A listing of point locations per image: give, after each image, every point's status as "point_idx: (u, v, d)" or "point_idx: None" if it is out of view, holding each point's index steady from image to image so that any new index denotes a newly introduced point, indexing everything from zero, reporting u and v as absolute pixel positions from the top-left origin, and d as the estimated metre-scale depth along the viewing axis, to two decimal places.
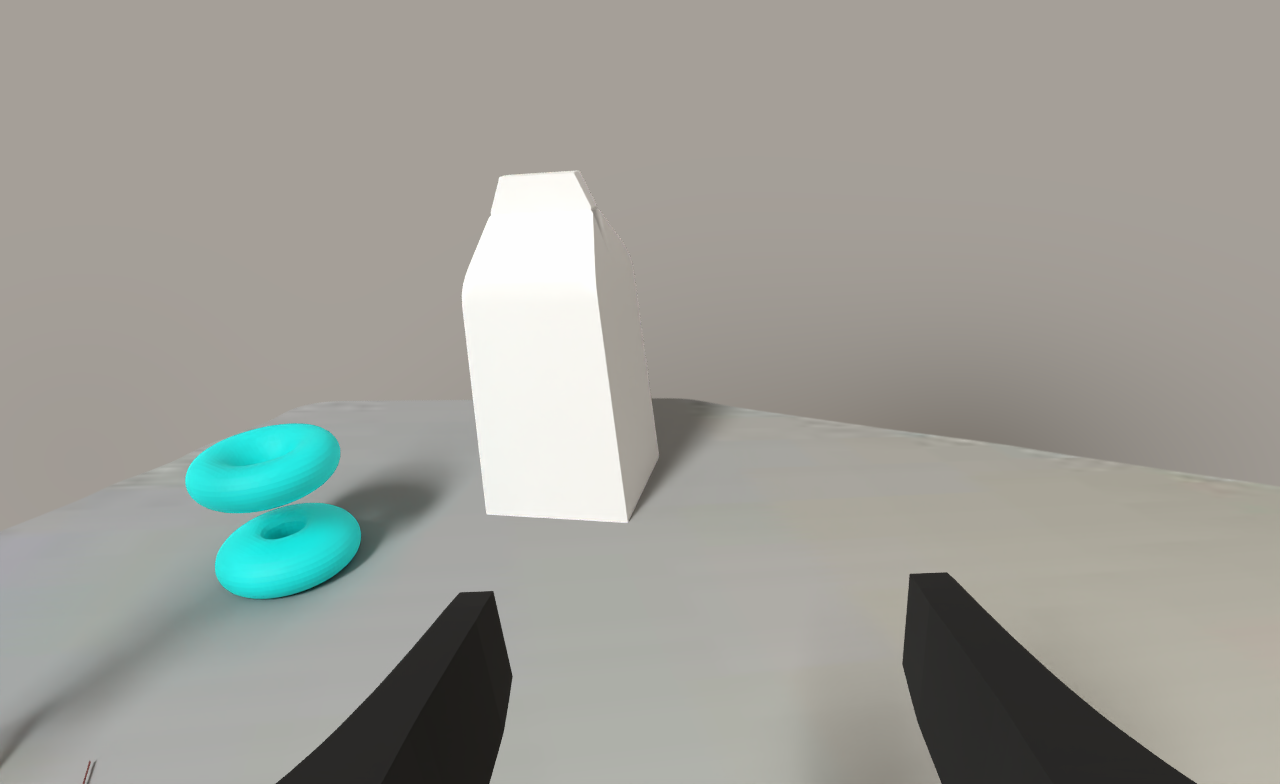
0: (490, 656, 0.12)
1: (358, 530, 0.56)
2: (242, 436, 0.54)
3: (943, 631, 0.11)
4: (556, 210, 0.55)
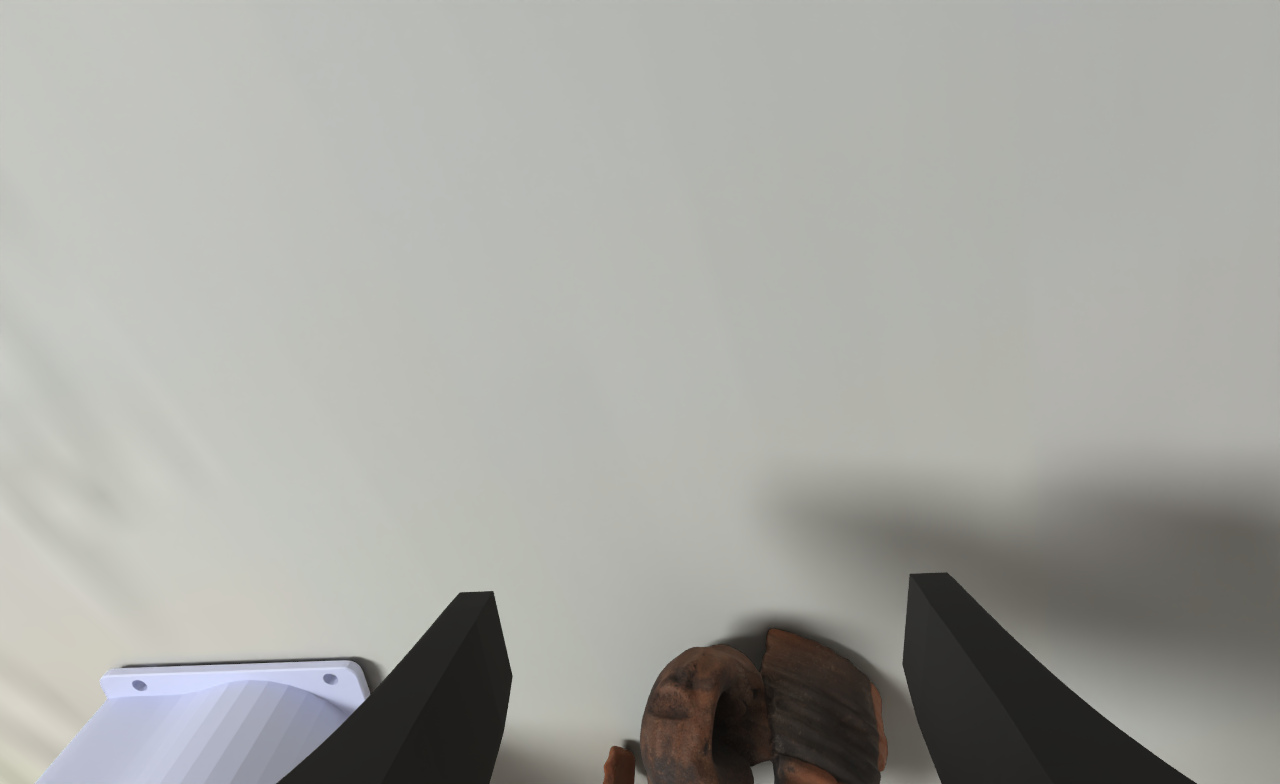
0: (490, 656, 0.12)
1: None
2: None
3: (943, 631, 0.11)
4: None
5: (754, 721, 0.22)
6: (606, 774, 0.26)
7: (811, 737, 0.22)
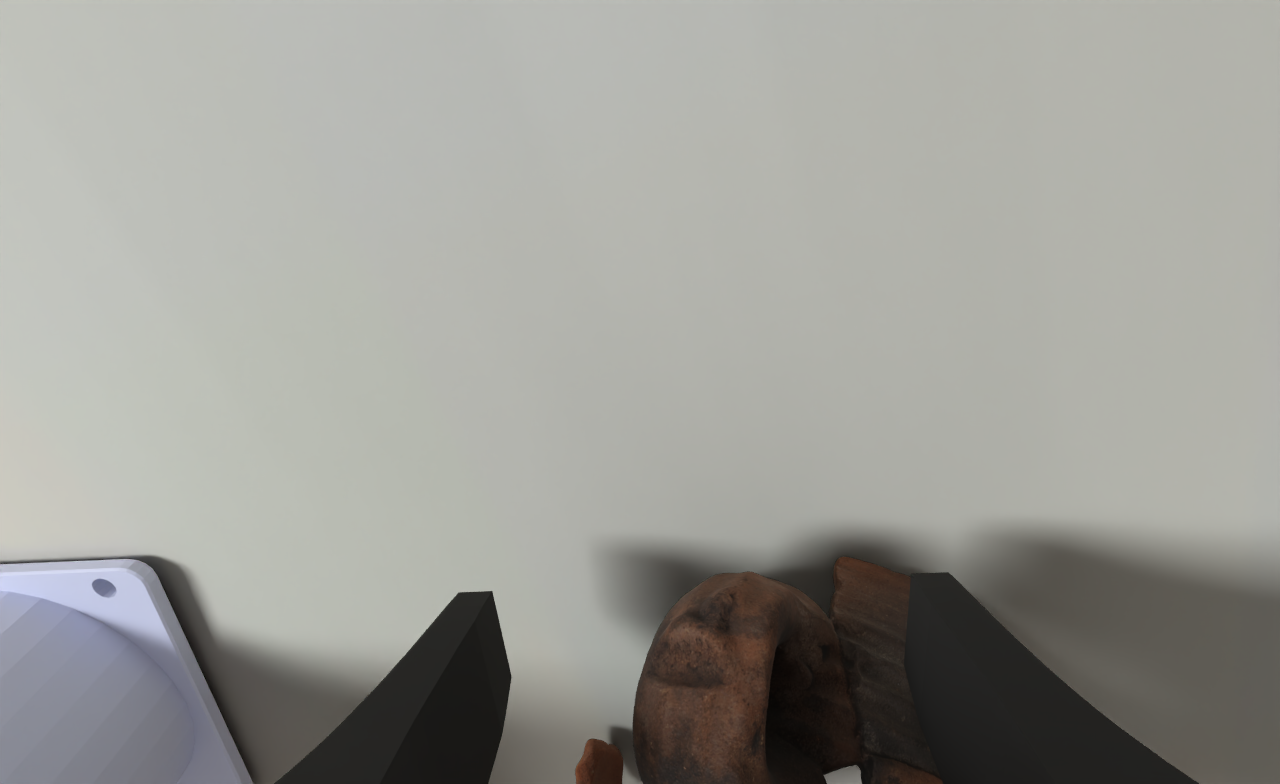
0: (489, 656, 0.12)
1: None
2: None
3: (944, 631, 0.11)
4: None
5: (827, 698, 0.13)
6: (578, 781, 0.17)
7: None
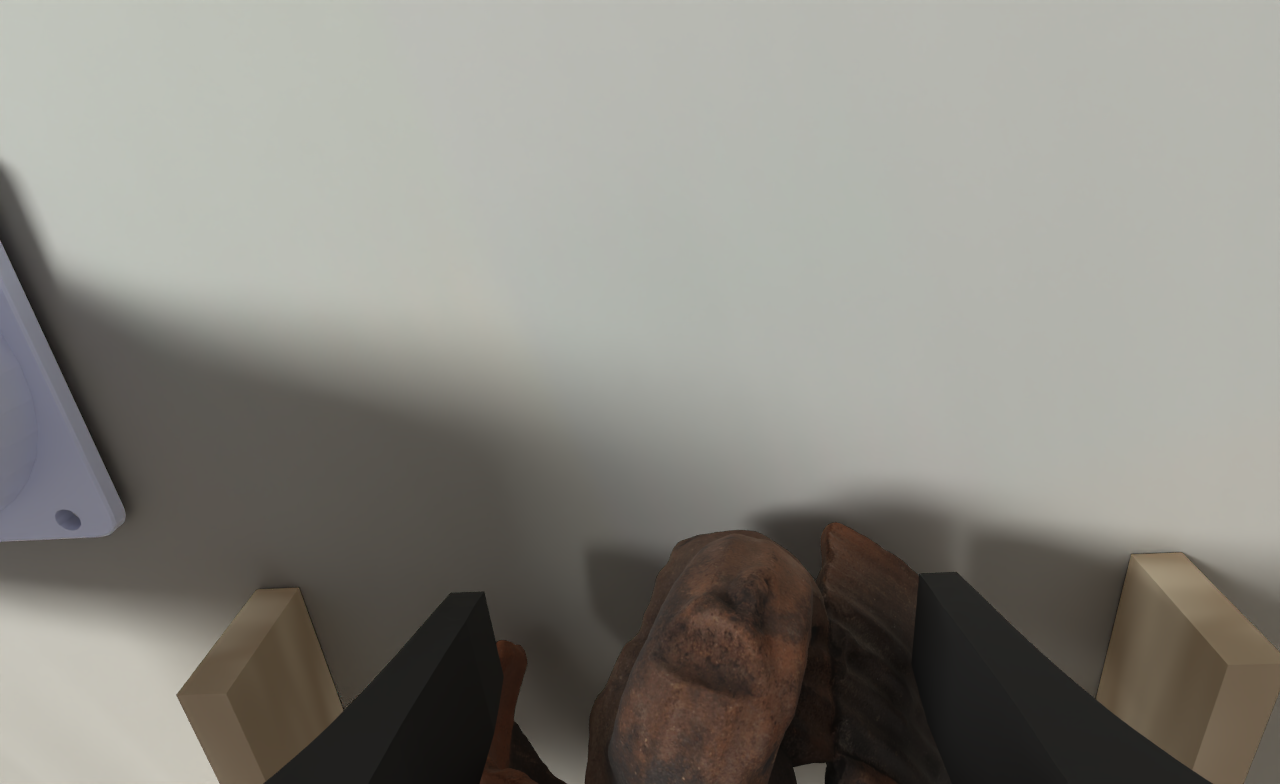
0: (481, 656, 0.12)
1: None
2: None
3: (954, 631, 0.11)
4: None
5: (810, 686, 0.11)
6: None
7: (892, 727, 0.12)
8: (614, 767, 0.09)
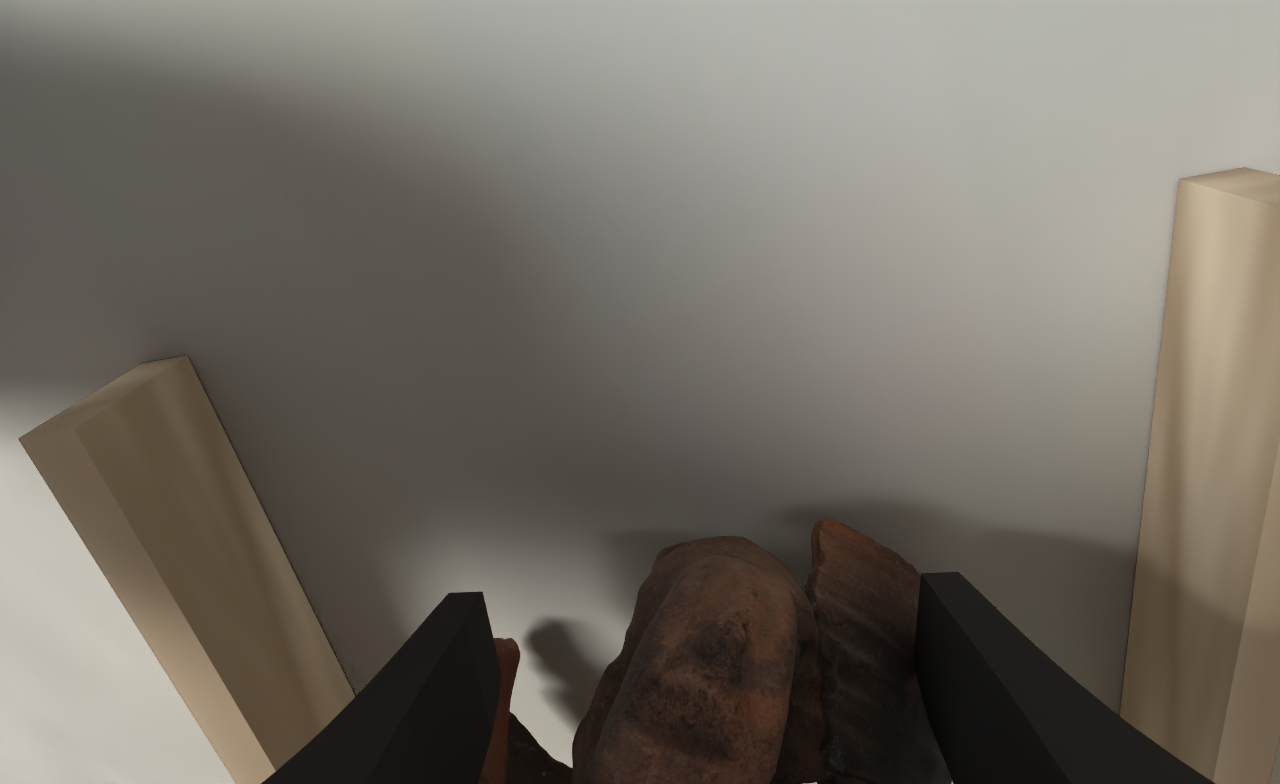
0: (478, 656, 0.12)
1: None
2: None
3: (956, 631, 0.11)
4: None
5: (799, 705, 0.11)
6: None
7: (886, 737, 0.12)
8: None
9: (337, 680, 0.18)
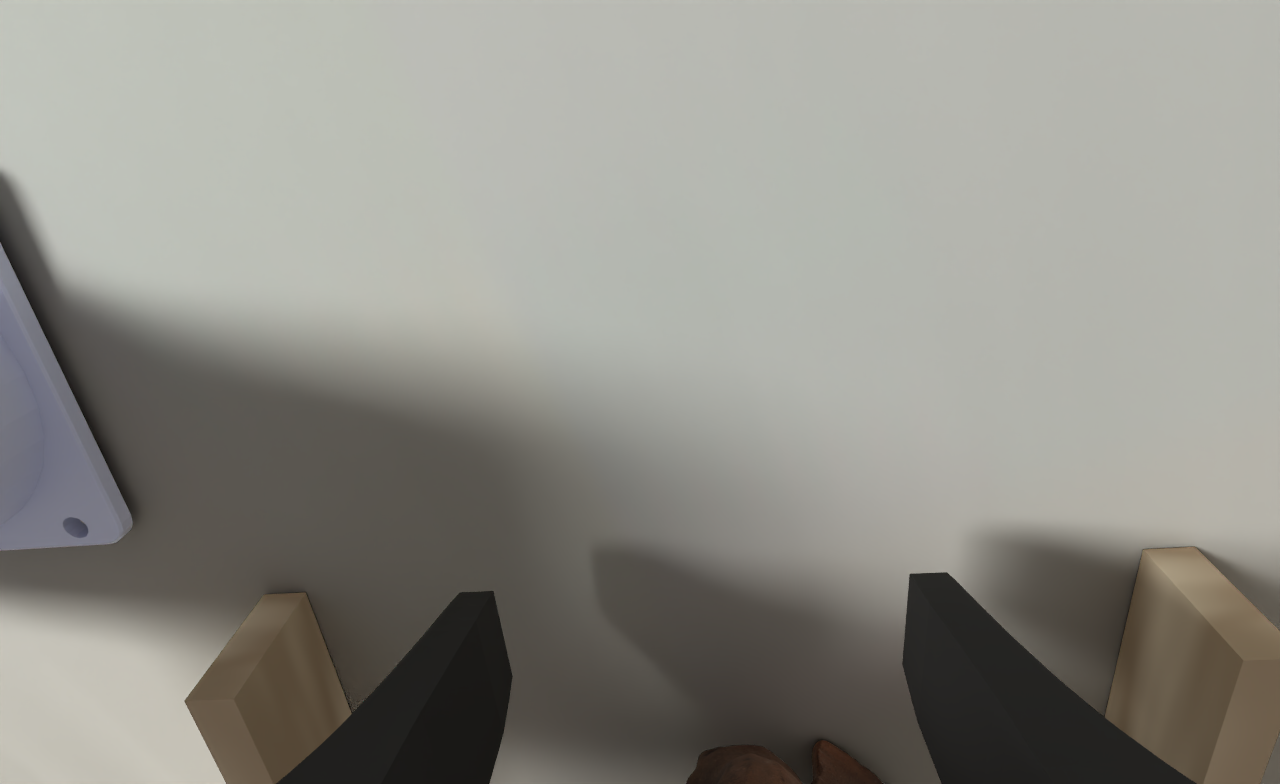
0: (490, 656, 0.12)
1: None
2: None
3: (943, 631, 0.11)
4: None
5: None
6: None
7: None
8: None
9: None
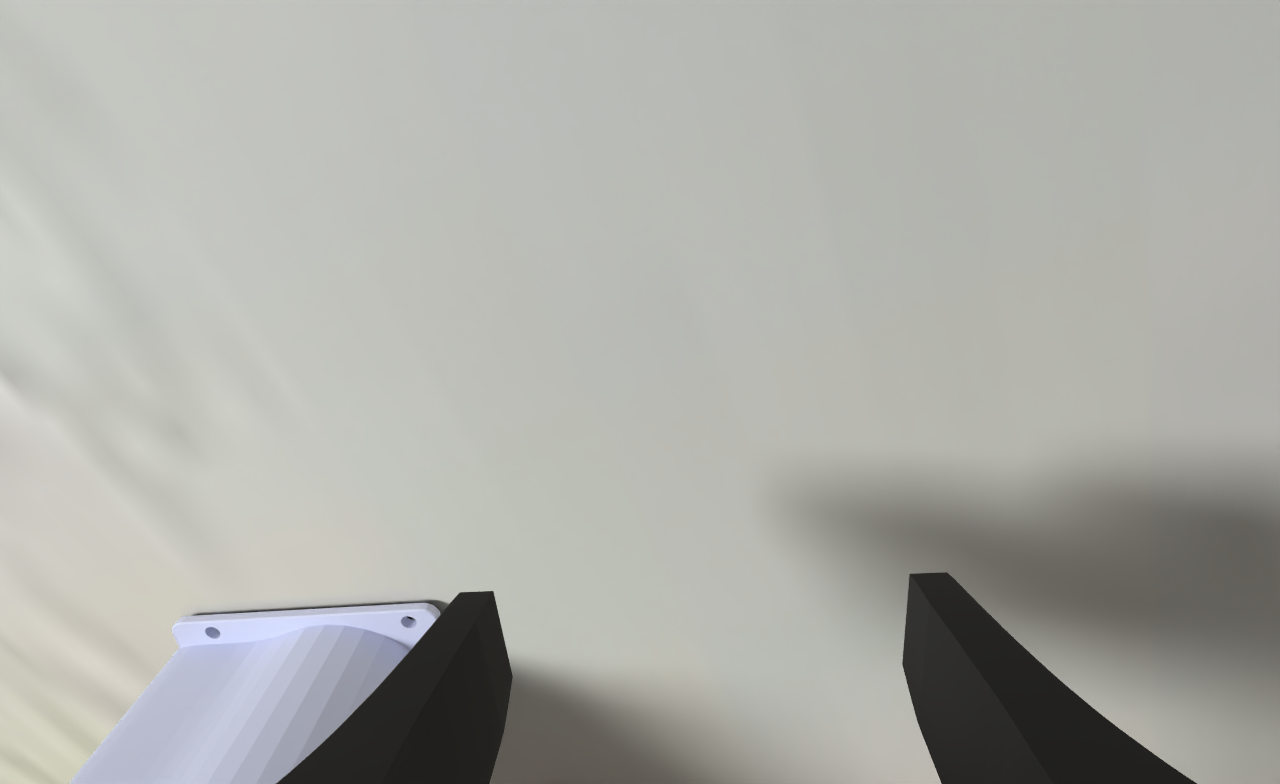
0: (490, 656, 0.12)
1: None
2: None
3: (943, 631, 0.11)
4: None
5: None
6: None
7: None
8: None
9: None
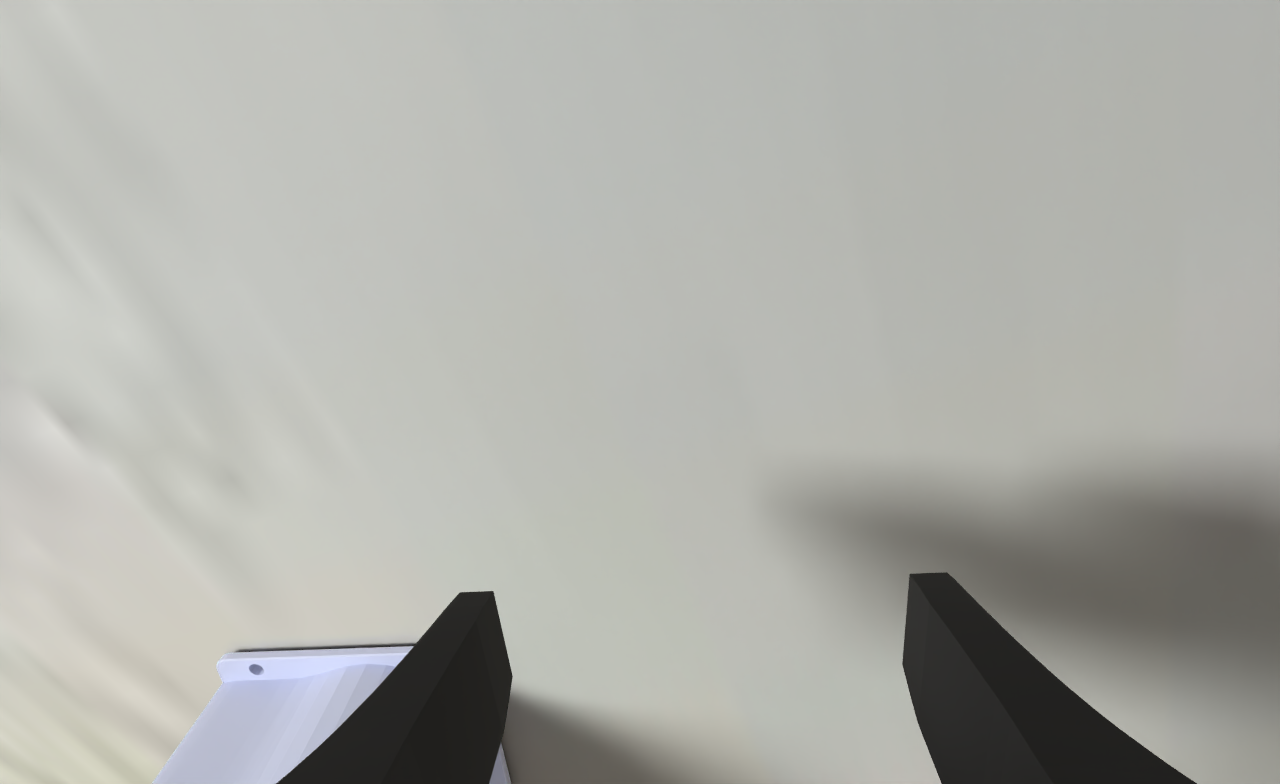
0: (490, 656, 0.12)
1: None
2: None
3: (943, 631, 0.11)
4: None
5: None
6: None
7: None
8: None
9: None
